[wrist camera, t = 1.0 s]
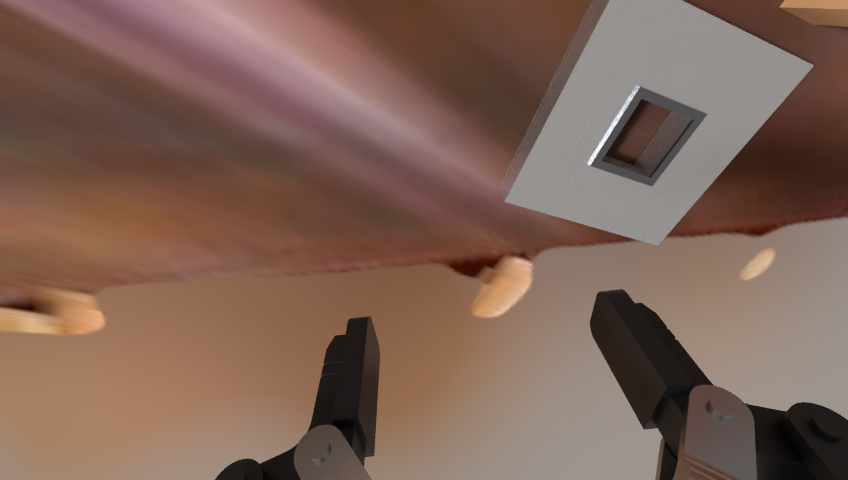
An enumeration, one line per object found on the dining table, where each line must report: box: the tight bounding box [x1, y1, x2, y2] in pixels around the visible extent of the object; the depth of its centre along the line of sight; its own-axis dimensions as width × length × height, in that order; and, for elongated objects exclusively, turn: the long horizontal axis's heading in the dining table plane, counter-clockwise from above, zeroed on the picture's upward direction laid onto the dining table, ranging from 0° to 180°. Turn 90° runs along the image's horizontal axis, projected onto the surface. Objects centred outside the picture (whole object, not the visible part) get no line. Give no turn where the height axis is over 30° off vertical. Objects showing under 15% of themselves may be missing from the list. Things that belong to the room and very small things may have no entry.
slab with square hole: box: [498, 0, 814, 245], centre depth 34 cm, size 20×20×3 cm
